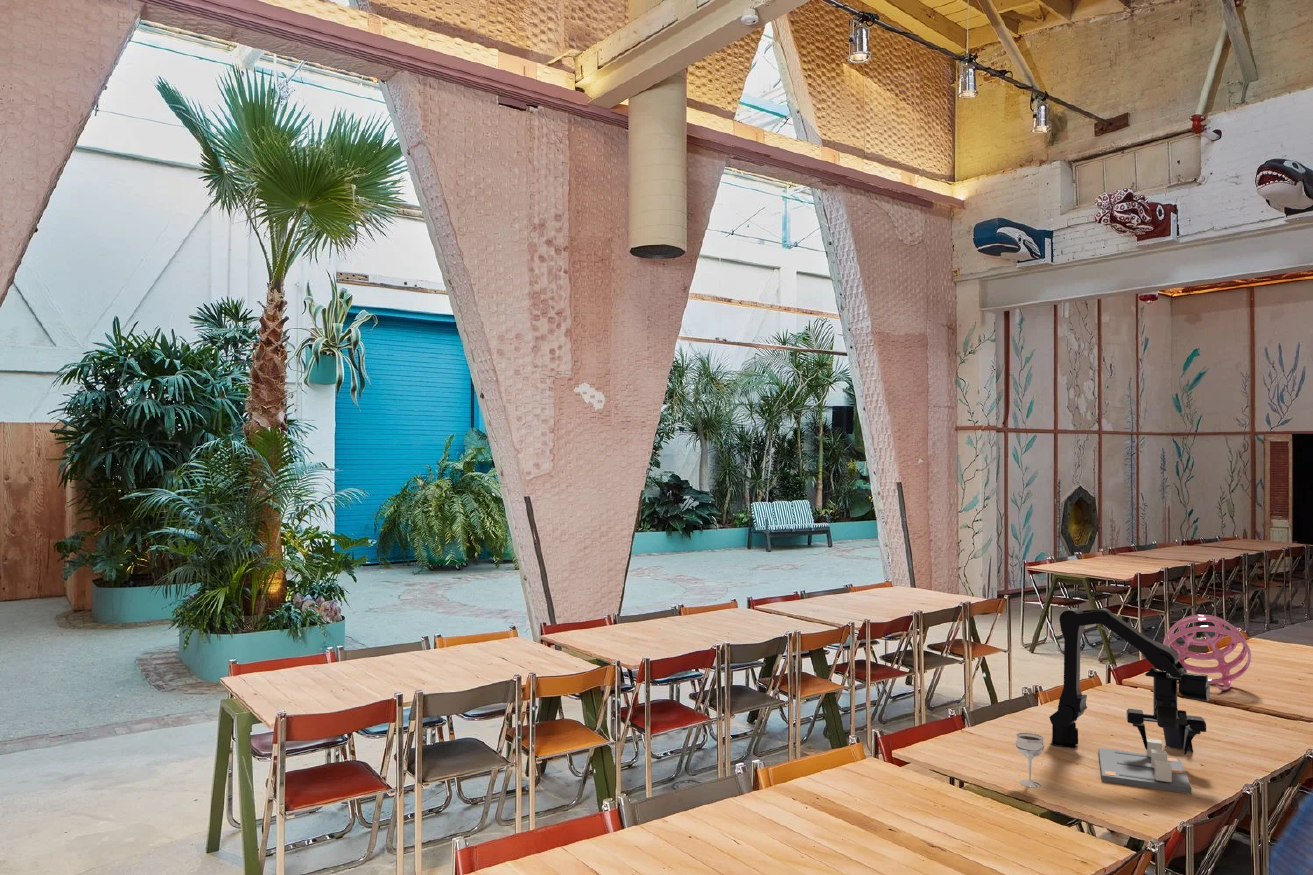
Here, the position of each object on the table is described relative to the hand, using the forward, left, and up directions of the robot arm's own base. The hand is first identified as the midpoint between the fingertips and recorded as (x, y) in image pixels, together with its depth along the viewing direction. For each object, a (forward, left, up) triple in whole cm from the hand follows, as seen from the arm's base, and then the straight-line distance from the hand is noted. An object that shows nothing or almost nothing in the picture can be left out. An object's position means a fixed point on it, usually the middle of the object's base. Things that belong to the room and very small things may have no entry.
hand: (1165, 751), depth 244 cm
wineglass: (-33, -33, -4) cm, 47 cm away
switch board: (-6, -10, -4) cm, 12 cm away
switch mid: (-2, -10, -2) cm, 10 cm away
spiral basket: (+23, +108, -4) cm, 111 cm away
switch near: (-2, -20, -2) cm, 20 cm away
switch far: (-3, 0, -2) cm, 3 cm away
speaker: (+5, +19, -4) cm, 20 cm away
